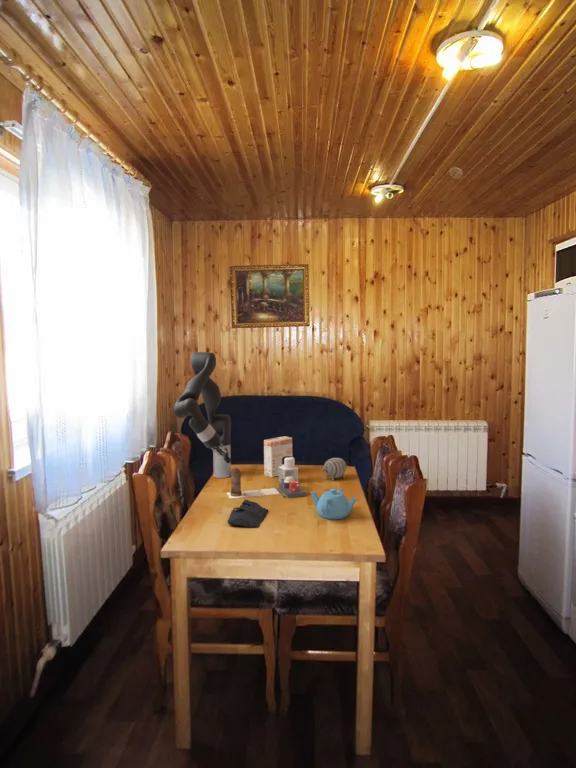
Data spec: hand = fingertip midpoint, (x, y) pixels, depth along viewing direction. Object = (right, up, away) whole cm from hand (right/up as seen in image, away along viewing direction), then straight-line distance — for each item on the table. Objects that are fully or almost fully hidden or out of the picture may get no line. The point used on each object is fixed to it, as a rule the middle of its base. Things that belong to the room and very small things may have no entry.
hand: (229, 461), depth 222 cm
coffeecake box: (+22, -14, +42) cm, 49 cm away
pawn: (+3, -16, +2) cm, 16 cm away
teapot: (+46, -19, -21) cm, 54 cm away
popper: (+29, -16, +10) cm, 34 cm away
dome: (+28, -13, +13) cm, 34 cm away
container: (+27, -15, +27) cm, 41 cm away
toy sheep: (+51, -14, +32) cm, 62 cm away
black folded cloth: (+10, -20, -24) cm, 33 cm away
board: (+11, -17, +4) cm, 20 cm away
